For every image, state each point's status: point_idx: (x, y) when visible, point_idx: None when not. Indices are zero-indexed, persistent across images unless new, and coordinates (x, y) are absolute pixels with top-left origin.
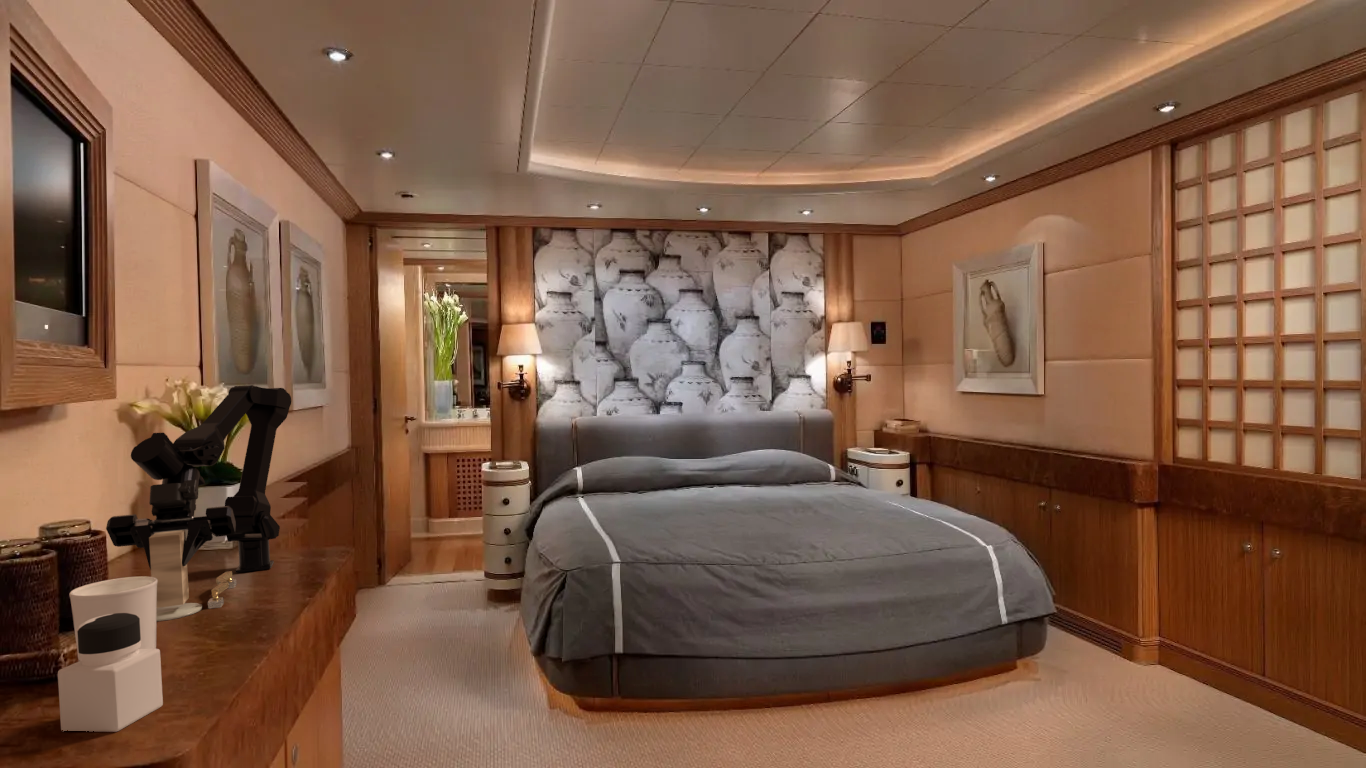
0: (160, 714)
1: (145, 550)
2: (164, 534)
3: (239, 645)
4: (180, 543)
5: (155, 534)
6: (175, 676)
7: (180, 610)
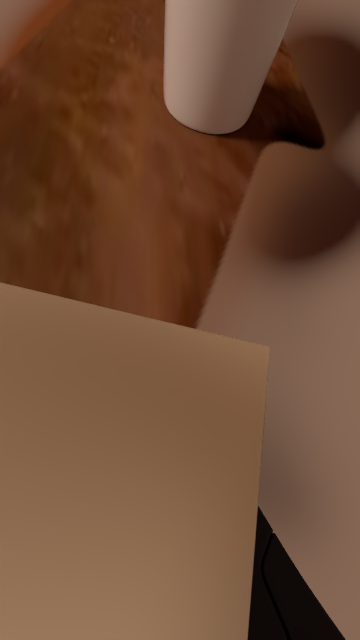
0: None
1: (261, 517)
2: (77, 461)
3: (41, 94)
4: None
5: (211, 607)
6: (141, 50)
7: None
